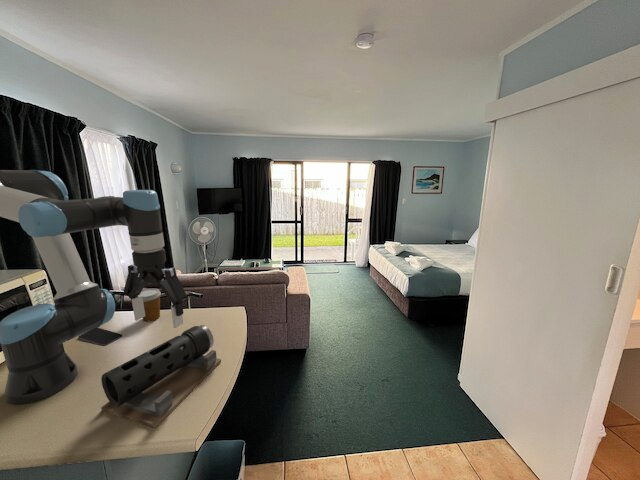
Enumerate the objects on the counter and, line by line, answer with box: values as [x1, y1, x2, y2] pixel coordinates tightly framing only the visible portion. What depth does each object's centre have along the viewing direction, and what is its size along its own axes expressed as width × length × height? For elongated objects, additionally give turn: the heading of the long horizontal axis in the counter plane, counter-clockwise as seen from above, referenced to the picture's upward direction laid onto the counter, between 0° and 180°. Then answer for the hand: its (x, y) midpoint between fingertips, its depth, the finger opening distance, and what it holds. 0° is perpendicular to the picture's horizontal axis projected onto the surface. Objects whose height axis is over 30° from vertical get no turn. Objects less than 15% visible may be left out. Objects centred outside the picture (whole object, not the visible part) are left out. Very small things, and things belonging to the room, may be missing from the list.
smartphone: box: [77, 327, 123, 347], centre depth 106 cm, size 7×1×15 cm
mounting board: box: [100, 349, 222, 429], centre depth 82 cm, size 18×26×6 cm
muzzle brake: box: [101, 324, 215, 407], centre depth 81 cm, size 10×28×10 cm, turn 149°
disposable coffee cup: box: [138, 288, 162, 323], centre depth 119 cm, size 10×10×12 cm
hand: (159, 321), depth 78 cm, fingers open, 13 cm apart
